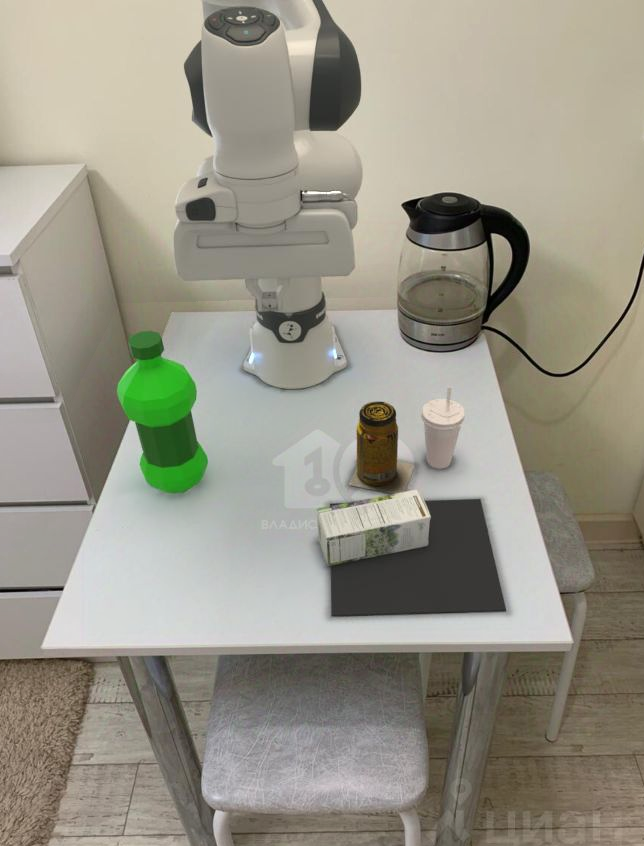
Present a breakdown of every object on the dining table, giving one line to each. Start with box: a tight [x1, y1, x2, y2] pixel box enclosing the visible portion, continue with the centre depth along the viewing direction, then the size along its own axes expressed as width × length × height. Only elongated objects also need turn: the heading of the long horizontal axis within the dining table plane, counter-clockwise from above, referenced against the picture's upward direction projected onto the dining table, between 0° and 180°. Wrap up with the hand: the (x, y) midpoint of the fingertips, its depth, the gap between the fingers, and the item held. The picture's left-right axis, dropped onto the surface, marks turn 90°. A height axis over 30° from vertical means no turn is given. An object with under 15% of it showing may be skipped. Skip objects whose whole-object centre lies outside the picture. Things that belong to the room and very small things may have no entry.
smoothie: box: [420, 385, 466, 470], centre depth 108 cm, size 6×6×14 cm
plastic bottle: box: [116, 330, 209, 495], centre depth 102 cm, size 10×10×25 cm
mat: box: [329, 498, 507, 618], centre depth 98 cm, size 20×22×1 cm
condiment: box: [348, 400, 416, 494], centre depth 106 cm, size 7×8×12 cm
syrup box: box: [316, 489, 431, 567], centre depth 98 cm, size 6×6×14 cm
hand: (270, 309), depth 86 cm, fingers closed
